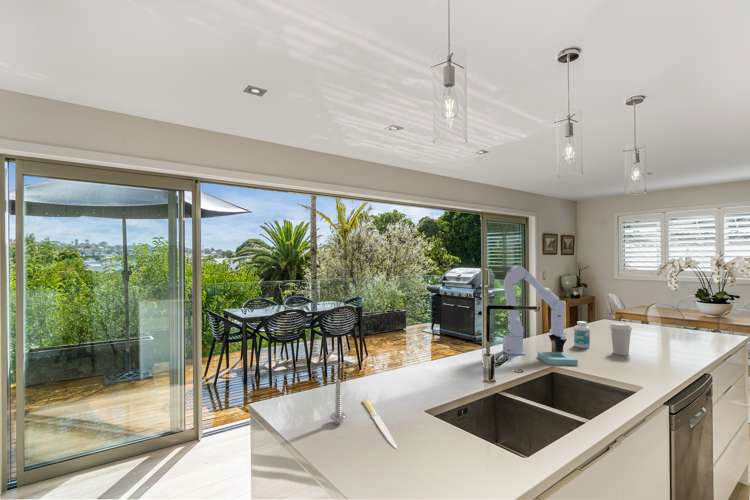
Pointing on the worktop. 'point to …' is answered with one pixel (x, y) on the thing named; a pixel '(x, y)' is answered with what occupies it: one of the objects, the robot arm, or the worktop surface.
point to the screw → (338, 406)
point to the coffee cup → (621, 338)
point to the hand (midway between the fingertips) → (557, 350)
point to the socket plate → (557, 358)
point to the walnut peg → (554, 346)
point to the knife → (379, 422)
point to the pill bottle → (582, 335)
